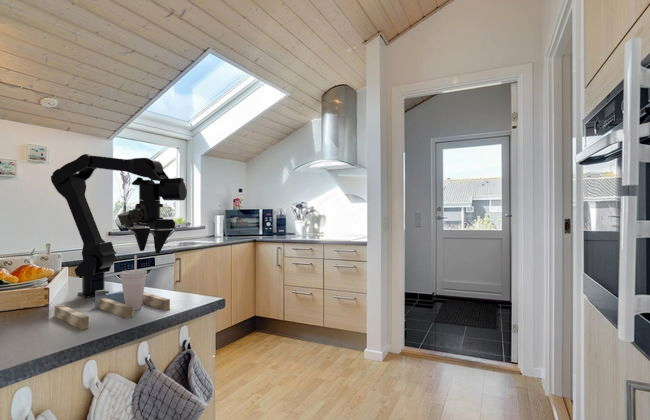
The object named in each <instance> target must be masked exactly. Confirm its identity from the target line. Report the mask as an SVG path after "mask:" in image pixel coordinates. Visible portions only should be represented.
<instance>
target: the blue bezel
mask: <svg viewBox="0 0 650 420" xmlns="http://www.w3.org/2000/svg"><path fill="white" fill-rule="evenodd" d="M106 291H107V290H105V289H104V290H98V291H95V296H94V307H95V308H98V298H102V297H105V298H108V299H111V300H113V301H116V302H119V303H122V304H125V301H124V294H123V290H119V291H115V292H114V291H113V292H109V293H107V294H106ZM98 309H99V308H98Z"/></svg>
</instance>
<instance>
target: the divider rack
mask: <svg viewBox="0 0 650 420" xmlns="http://www.w3.org/2000/svg"><path fill="white" fill-rule="evenodd" d="M170 300H171V299H169V298H166V297H163V296H161V295H155V294H151V293H149V292H145V291H144V293H143V300H142V304H143V303H144V305H148V306H149V307H153V308H156V309H160V310H162V311H167V310H170V308H171V303H170V302H171V301H170ZM98 309H99V310H103V311H105V312H107V313H109V314H113V315H115V316H118V317H120V318H122V319H126V320H128V319H131V318H134V316H133V315H134V312H133V311H134V310H133V307H131V306H128V305H125V303H119V302H116V301H113V300H111V299H108V298H105V297H102V298H98ZM54 317H56V318H58V319H59V320H61V321H64V322H65V323H67V324H69V325H71V326H73V327H74V328H77V329H79V330H84V329H85V330H86V329H89V327H90V326H89V322H90V321H89V319H90V316H89V315H86V314H84V313H82V312H80V311H78V310H75V309H72V308H71V307H68V306H66V305H63V304H57V305H54Z"/></svg>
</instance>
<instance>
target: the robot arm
mask: <svg viewBox="0 0 650 420" xmlns="http://www.w3.org/2000/svg"><path fill="white" fill-rule="evenodd" d="M97 169H101V170H108V171H109V170H110V171H116V172H124V173H125V172H127V173H130V174H132V175H135V176H137V177H136V179H135V180H134V181H132V182H131V185H132V186H138V187H139V188H138V191H139V192H138V193H139V194H138V196H139V198H138V199H139V200H138V203H136V204H135V206H134V208H133V209H130V210H127V211H124V212H122V213H119V214H117V218H118V220H119V223H120V225H121V226H125V228H127V230H128V231H130V232H131V233H133V234H134V236H135V239H136V243H137V246H138V250H139V251H140V252H144V251H145V248H146V246H147V243H148V238H149V236H150V235H149V234H151V235H152V236H153V243H154V244H153V245H154V251H155V254H160V252H161V251H162V249H163V247H164V245H165V243H166V241H167V240H168V237H169V236H170V234H171V233H172V232H173V231H174V230H173V229H176V221H175V220H174V219H173V218H164V217H162V216H161V208H164V204H163V203H161V199H162V200H164V201H185V200H186V199H187V195H188V194H187V193H188V191H187V187H186V183H185V182H184V178H183V177H175V178H172V177H171V178H169V176H168V175H167V173H166V172H165V170H164V167H163V165H162V163H161V162H160V161H159V160H156V159H152V158H148V157H136V158H135V157H133V158H129V159H127V158H126V159H125V158H117V157H107V156H101V155H94V154H88V153H84V154H81V155H80V156H78V157H77V158H76V159H73V160H72V161H70V162H68V163H67V162H66V164H64V165H62V166H61V167H60V168H57V169H56V170H54V171H53V172H52V175H50V182H51V184H52V185H53V186H54V189H55V190H56V192H57V193H58V194H60V196H61V197H63V198H64V199H65V200H66V203H67V205H68V208H69V210H70V214H71V215H72V219H73V220H74V223H75V226H76V228H77V230H78V234H79V235H80V238H81V241H82V243H83V245H82V251H81V256H82V262H81V263H79V265H77V267H75V268H74V272H75V276H76V277H81V280H82V281H81V283H82V284H81V291H80V292H77V295H78V296H82V297H83V298H90V297H91V298H92V297H95V291H98V290H105V274H106V273H108V272H110V270H111V269H112V266H113V265H114V264H115V262H116V254H117V252H116V251H115V248H114V245H113V242H112V241H105V240H104V239H103V238H102V236H101V233H100V230H99V229H98V225H97V223H96V221H95V219H94V216H93V213H92V211H91V208H90V206H89V203H88V201H87V197H86V191H87V183H86V181H87V180H88V179H89V178H91V177H92V175H93V173H94V172H95V170H97ZM144 178H146V179H144ZM147 178H148V179H147ZM155 181H156V182H155ZM157 182H158V183H157ZM107 293H110V291H108V290H106V294H107Z"/></svg>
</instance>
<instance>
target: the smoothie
mask: <svg viewBox="0 0 650 420" xmlns="http://www.w3.org/2000/svg"><path fill="white" fill-rule="evenodd" d="M133 258H134V262H133V263H134V266H133V267H134V269H129V270H122V271H120V272H119V277H120V278H121V279H120V280H121V284H122V291H123V294H124V301H125V302H124V304H125V305H128V306H131V307H133V311H137V310H140V309H142V307H143V303H142V300H143V293H144V292H145V285H146V284H145V283H146V279H147V278H146V276H147V275H148V270H146V269H138V268H137V267H138V265H137V264H138V262H137V261H138V259H137V258H138V255H137V254H135V255H134V257H133Z"/></svg>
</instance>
